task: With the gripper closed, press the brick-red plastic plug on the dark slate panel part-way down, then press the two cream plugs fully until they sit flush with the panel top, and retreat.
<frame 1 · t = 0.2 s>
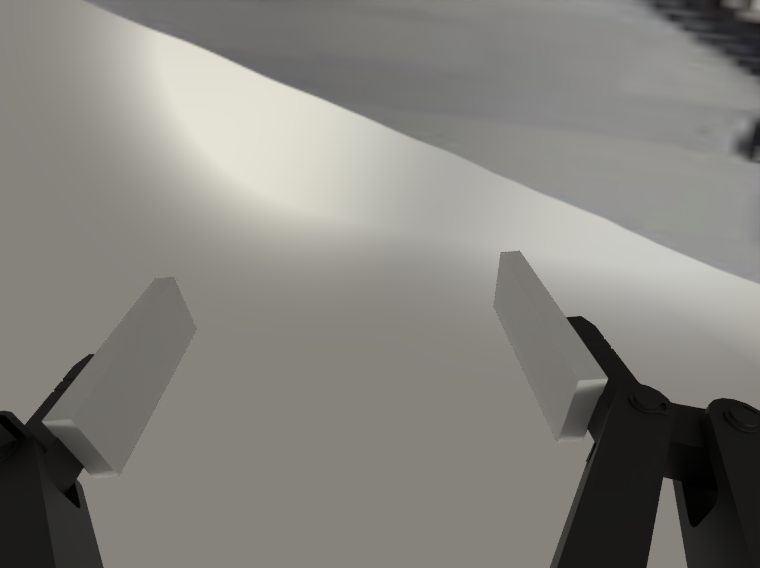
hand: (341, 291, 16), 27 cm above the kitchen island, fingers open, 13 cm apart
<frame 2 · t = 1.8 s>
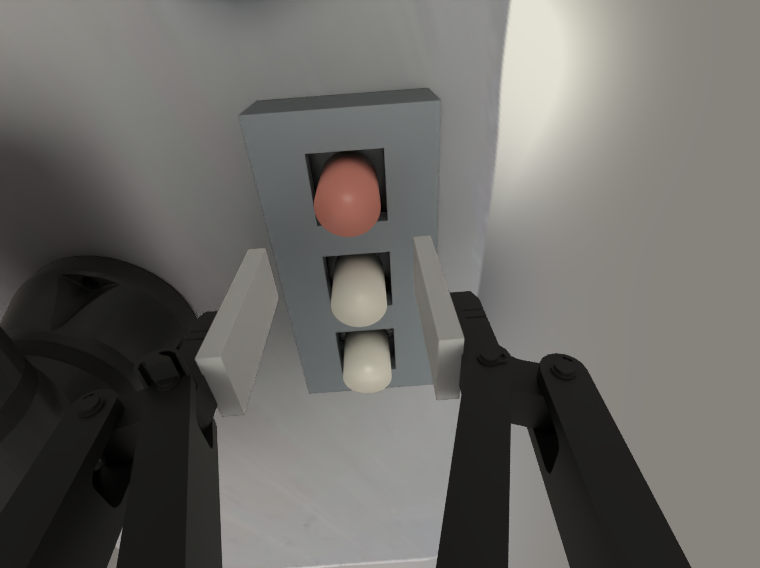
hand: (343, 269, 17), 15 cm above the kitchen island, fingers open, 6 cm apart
cream plug B: (359, 286, 29), point 6 cm above the kitchen island, slide at 0.0 cm
panel: (359, 250, 34), on the kitchen island
brick-red plug: (348, 192, 25), point 6 cm above the kitchen island, slide at 0.0 cm
cream plug A: (367, 356, 33), point 6 cm above the kitchen island, slide at 0.0 cm
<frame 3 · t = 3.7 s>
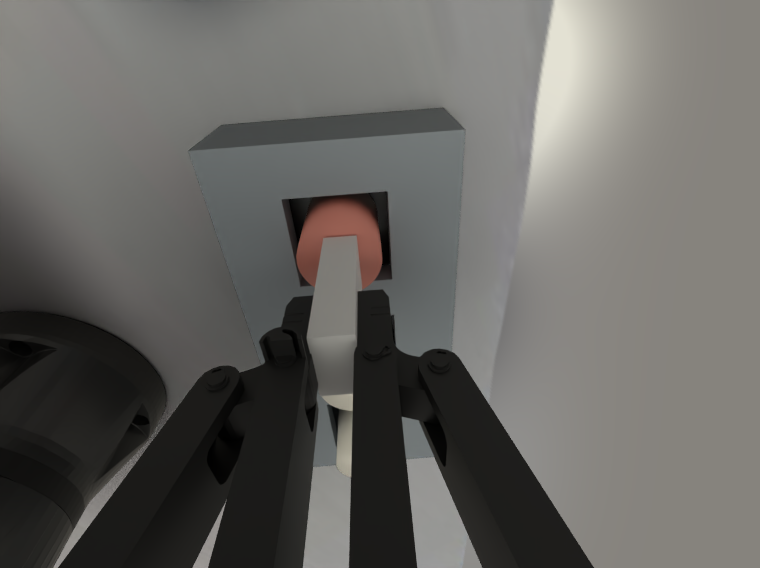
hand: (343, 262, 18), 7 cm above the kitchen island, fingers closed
cream plug B: (355, 356, 23), point 6 cm above the kitchen island, slide at 0.0 cm
panel: (355, 300, 28), on the kitchen island
brick-red plug: (341, 236, 20), point 4 cm above the kitchen island, slide at 1.3 cm, touching gripper
cream plug A: (365, 431, 27), point 6 cm above the kitchen island, slide at 0.0 cm
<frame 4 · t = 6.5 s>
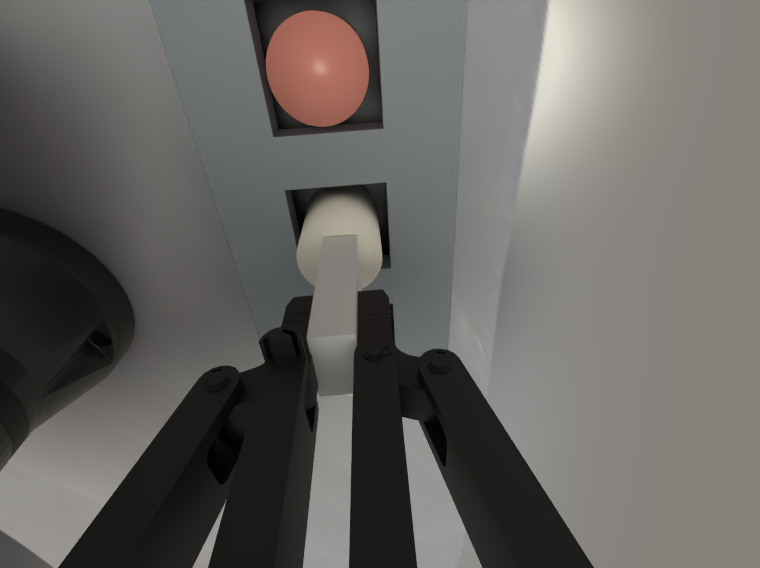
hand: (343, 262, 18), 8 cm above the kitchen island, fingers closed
cream plug B: (341, 235, 20), point 5 cm above the kitchen island, slide at 0.3 cm, touching gripper
panel: (344, 196, 24), on the kitchen island
brick-red plug: (322, 66, 17), point 4 cm above the kitchen island, slide at 2.0 cm
cream plug A: (355, 344, 24), point 6 cm above the kitchen island, slide at 0.0 cm
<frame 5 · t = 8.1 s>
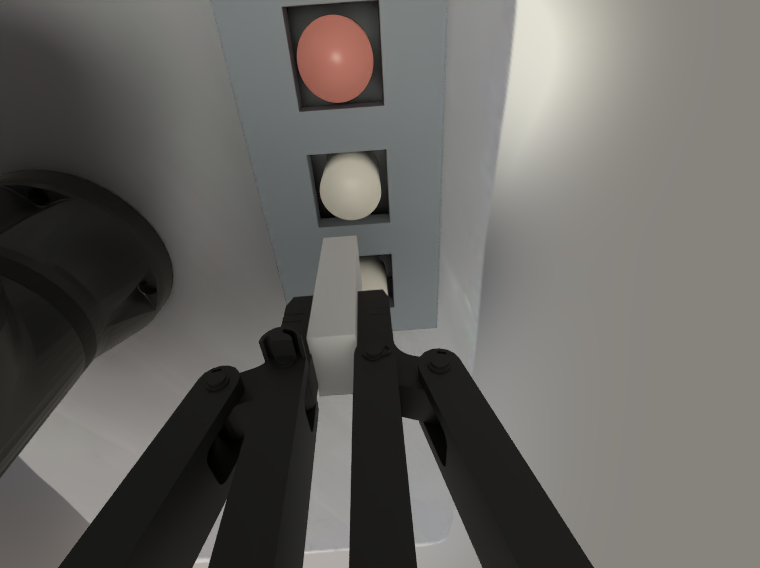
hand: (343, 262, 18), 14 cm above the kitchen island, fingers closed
cream plug B: (351, 179, 27), point 3 cm above the kitchen island, slide at 2.8 cm
panel: (352, 166, 29), on the kitchen island
brick-red plug: (337, 57, 22), point 4 cm above the kitchen island, slide at 2.0 cm
cream plug A: (360, 288, 29), point 6 cm above the kitchen island, slide at 0.0 cm
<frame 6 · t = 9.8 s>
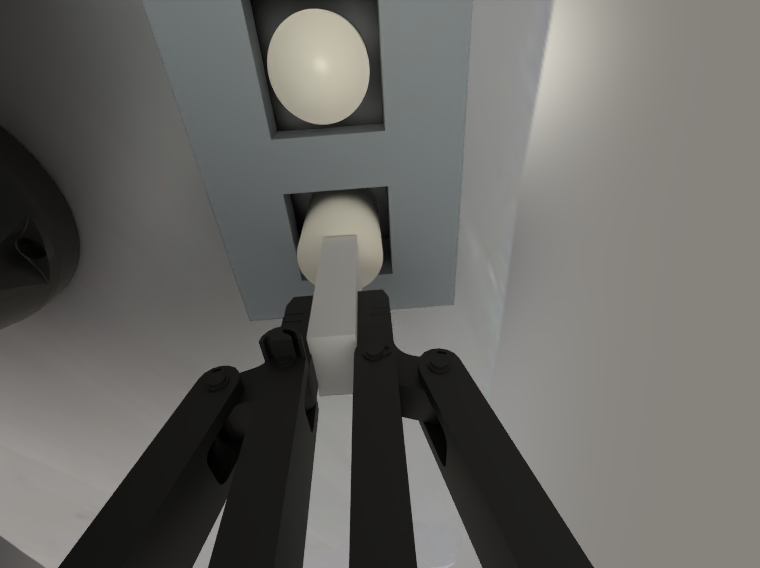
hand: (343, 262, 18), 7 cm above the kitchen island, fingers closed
cream plug B: (323, 64, 17), point 3 cm above the kitchen island, slide at 2.8 cm
panel: (327, 59, 19), on the kitchen island
cream plug A: (342, 234, 20), point 5 cm above the kitchen island, slide at 0.9 cm, touching gripper
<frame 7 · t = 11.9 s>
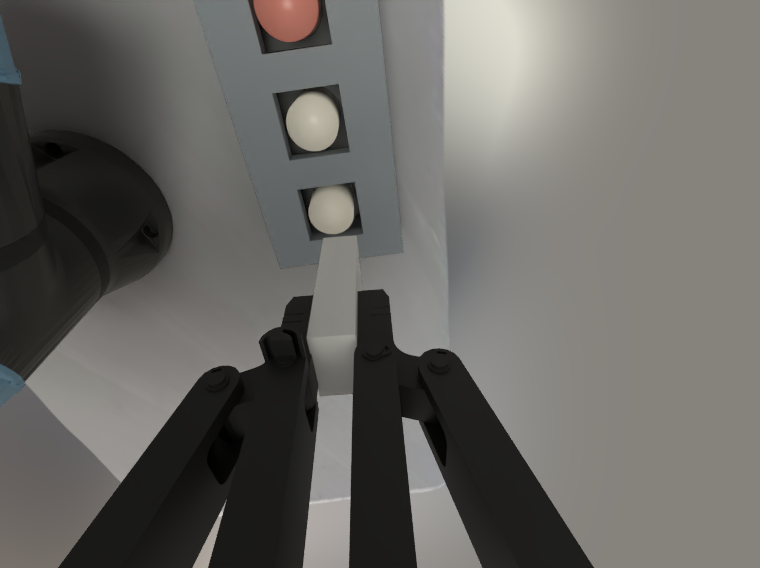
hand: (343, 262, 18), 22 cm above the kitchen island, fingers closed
cream plug B: (315, 118, 32), point 3 cm above the kitchen island, slide at 2.8 cm
panel: (318, 111, 34), on the kitchen island
brick-red plug: (290, 6, 27), point 4 cm above the kitchen island, slide at 2.0 cm
cream plug A: (332, 203, 36), point 3 cm above the kitchen island, slide at 2.8 cm
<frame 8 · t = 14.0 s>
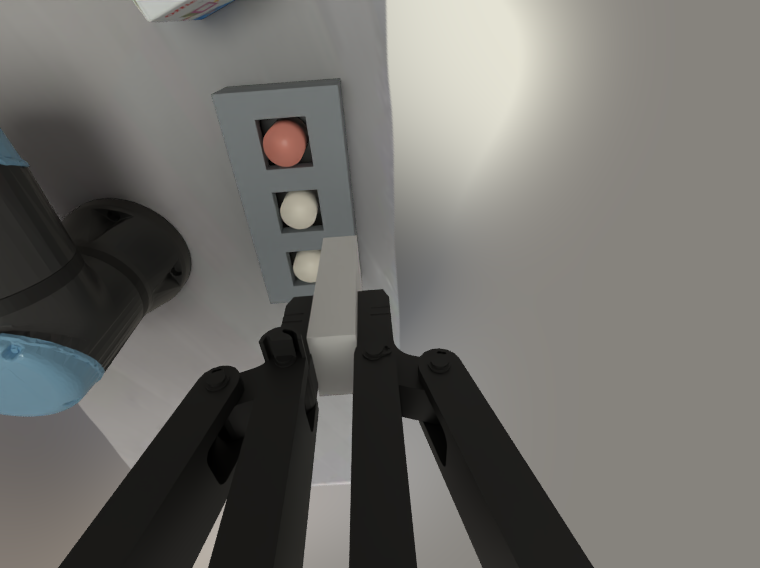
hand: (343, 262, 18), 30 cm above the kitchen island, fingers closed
cream plug B: (301, 204, 45), point 3 cm above the kitchen island, slide at 2.8 cm
panel: (303, 195, 47), on the kitchen island
brick-red plug: (287, 140, 40), point 4 cm above the kitchen island, slide at 2.0 cm
cream plug A: (311, 259, 49), point 3 cm above the kitchen island, slide at 2.8 cm
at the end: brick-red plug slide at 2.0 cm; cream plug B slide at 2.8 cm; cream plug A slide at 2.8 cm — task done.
